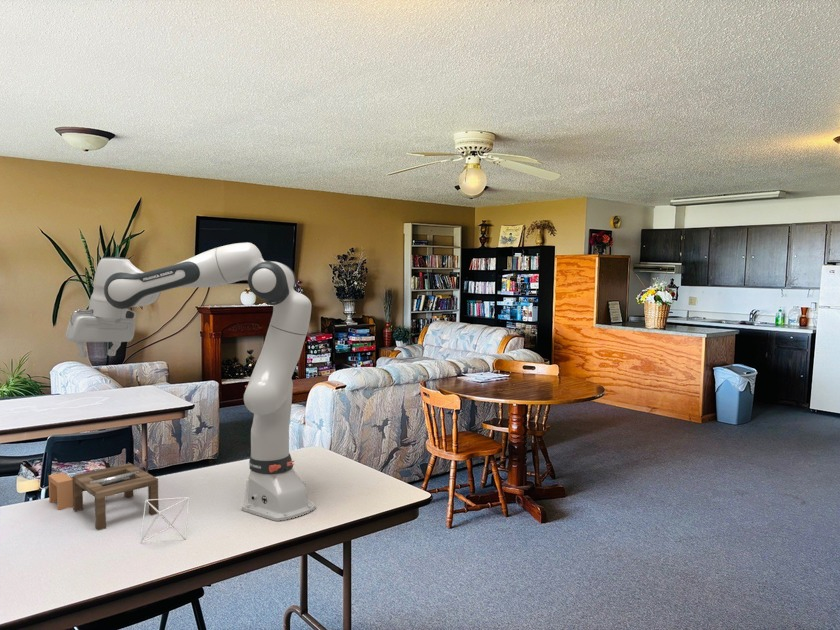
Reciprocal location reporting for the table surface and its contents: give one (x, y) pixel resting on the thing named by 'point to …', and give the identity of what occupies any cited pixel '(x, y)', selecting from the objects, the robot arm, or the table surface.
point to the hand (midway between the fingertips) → (97, 356)
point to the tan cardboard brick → (61, 490)
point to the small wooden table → (113, 489)
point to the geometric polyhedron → (164, 519)
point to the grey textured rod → (115, 478)
